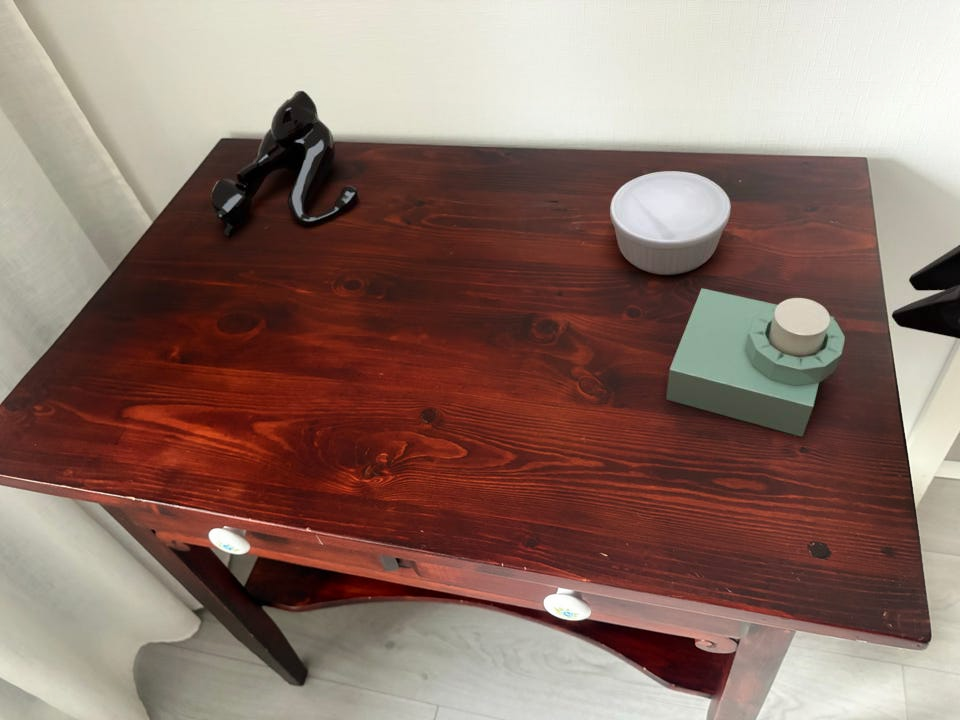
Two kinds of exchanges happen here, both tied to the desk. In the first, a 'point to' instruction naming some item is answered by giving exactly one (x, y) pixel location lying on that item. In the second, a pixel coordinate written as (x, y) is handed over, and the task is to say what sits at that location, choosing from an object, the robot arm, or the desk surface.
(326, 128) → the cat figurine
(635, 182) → the ramekin
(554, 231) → the desk surface
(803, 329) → the cream cylindrical button
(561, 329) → the desk surface
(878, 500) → the desk surface
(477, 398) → the desk surface
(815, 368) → the button base
